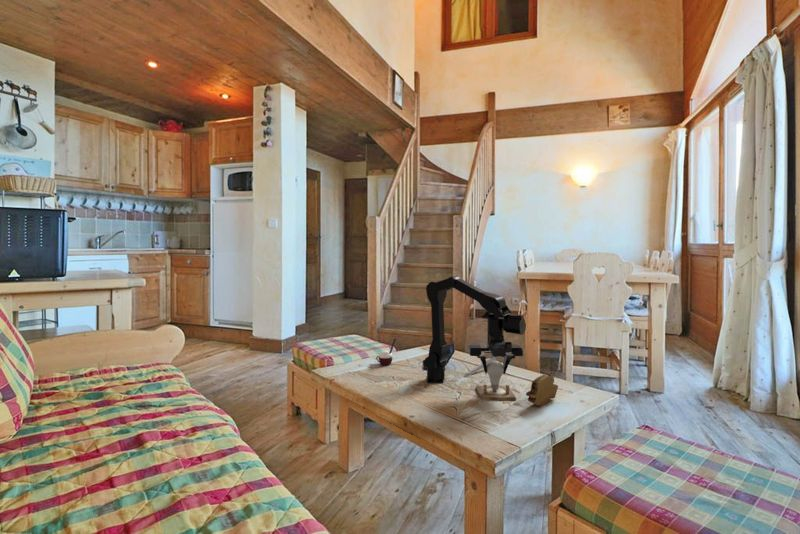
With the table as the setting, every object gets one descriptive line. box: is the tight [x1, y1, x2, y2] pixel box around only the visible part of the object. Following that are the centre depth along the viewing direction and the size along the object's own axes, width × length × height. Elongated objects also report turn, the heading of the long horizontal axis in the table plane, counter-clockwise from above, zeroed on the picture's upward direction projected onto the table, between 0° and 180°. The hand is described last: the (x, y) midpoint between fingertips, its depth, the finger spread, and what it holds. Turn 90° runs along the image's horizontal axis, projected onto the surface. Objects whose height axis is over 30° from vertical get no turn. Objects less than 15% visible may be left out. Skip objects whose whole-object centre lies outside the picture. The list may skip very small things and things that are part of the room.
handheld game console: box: [423, 342, 456, 371], centre depth 190 cm, size 16×13×9 cm
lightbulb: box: [487, 360, 504, 391], centre depth 154 cm, size 6×6×11 cm
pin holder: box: [475, 384, 517, 401], centre depth 154 cm, size 12×12×4 cm
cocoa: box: [375, 338, 397, 366], centre depth 192 cm, size 10×6×12 cm, turn 48°
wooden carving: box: [525, 374, 559, 407], centre depth 144 cm, size 16×5×10 cm, turn 134°
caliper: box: [464, 354, 497, 377], centre depth 180 cm, size 20×1×6 cm, turn 131°
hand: (494, 373), depth 154 cm, fingers open, 6 cm apart
